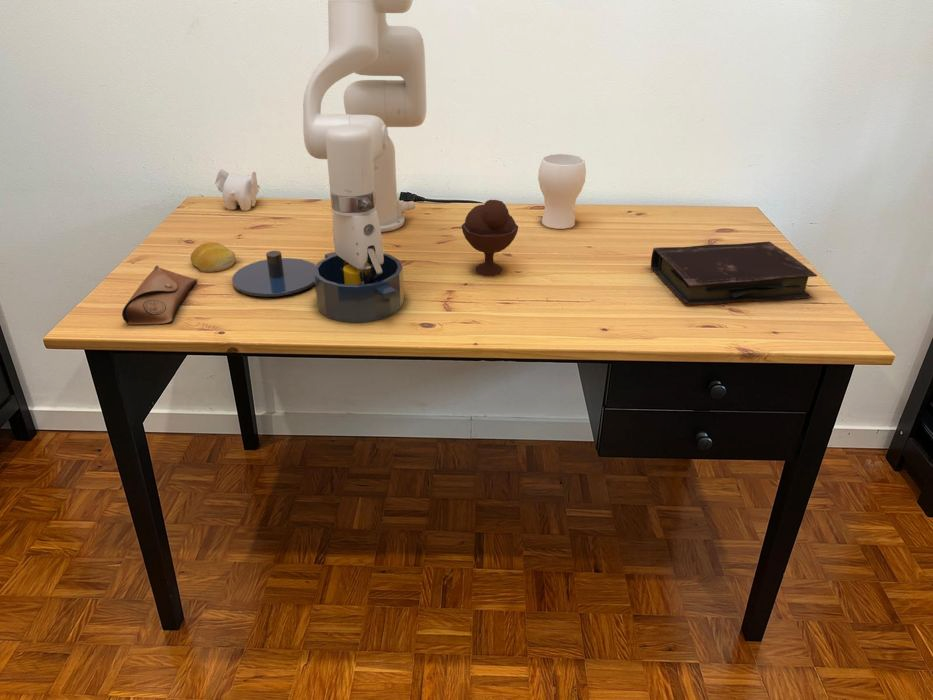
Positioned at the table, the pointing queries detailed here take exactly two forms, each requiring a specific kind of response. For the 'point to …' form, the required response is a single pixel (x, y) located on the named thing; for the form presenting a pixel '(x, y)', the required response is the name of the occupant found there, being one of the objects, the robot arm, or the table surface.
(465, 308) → the table surface
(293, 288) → the lid
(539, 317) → the table surface
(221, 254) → the bread roll
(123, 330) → the table surface
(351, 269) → the yellow cylinder with peg
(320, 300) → the pan
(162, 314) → the sunglasses case
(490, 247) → the ice cream bowl
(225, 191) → the elephant figurine
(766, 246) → the diary
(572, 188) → the cup
